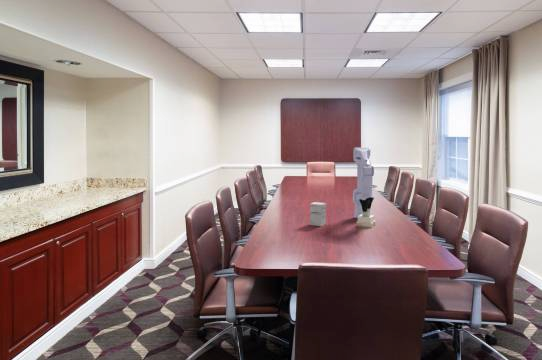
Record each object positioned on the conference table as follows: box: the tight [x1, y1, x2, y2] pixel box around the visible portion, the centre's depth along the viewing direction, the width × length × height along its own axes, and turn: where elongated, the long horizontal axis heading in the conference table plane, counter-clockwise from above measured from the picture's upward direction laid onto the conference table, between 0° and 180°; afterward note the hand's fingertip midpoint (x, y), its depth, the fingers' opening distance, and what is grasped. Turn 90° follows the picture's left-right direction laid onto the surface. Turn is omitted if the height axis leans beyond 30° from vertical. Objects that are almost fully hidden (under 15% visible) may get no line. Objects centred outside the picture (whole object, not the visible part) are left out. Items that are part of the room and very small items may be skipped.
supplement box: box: [309, 201, 327, 227], centre depth 225 cm, size 7×7×13 cm
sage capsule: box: [362, 208, 371, 217], centre depth 224 cm, size 4×4×4 cm
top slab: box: [357, 214, 375, 223], centre depth 224 cm, size 8×8×3 cm
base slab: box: [355, 219, 377, 229], centre depth 224 cm, size 9×9×3 cm
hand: (366, 210), depth 224 cm, fingers open, 7 cm apart
